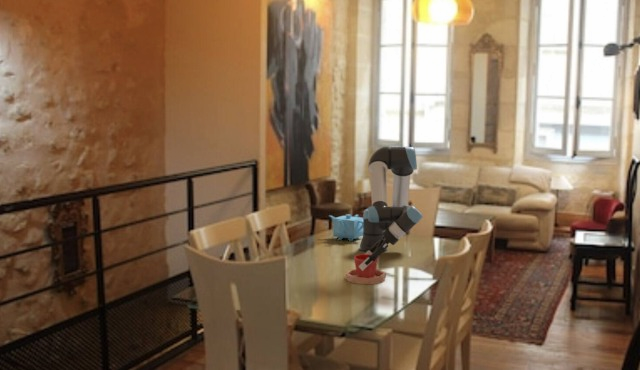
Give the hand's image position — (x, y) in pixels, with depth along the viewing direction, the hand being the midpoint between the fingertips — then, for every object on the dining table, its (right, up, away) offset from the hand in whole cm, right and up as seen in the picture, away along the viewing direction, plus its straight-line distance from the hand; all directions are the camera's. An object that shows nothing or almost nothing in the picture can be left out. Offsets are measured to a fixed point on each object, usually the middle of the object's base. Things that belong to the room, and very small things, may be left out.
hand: (360, 265), depth 316 cm
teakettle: (-3, +5, +90) cm, 91 cm away
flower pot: (+2, -6, +1) cm, 7 cm away
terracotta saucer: (+2, -7, +1) cm, 7 cm away
